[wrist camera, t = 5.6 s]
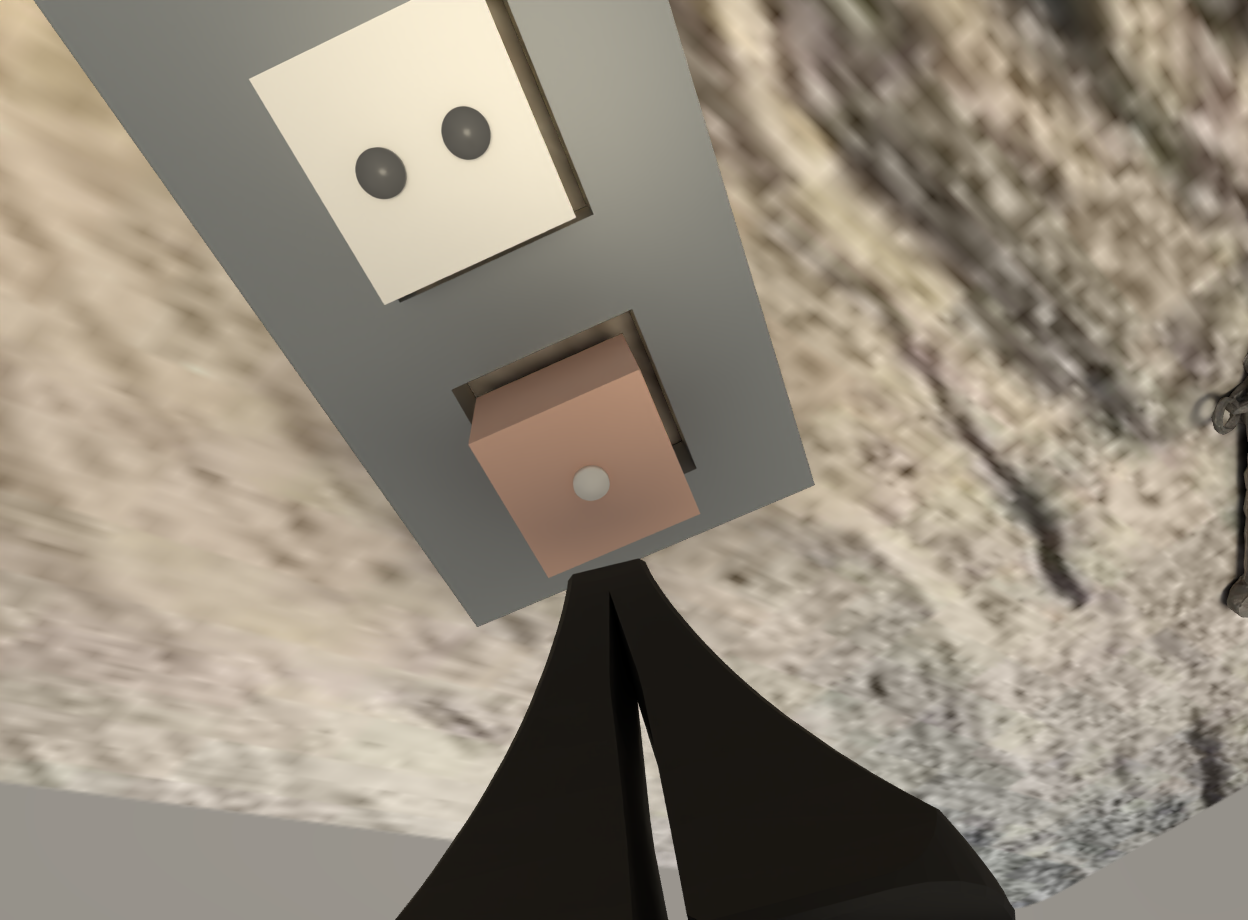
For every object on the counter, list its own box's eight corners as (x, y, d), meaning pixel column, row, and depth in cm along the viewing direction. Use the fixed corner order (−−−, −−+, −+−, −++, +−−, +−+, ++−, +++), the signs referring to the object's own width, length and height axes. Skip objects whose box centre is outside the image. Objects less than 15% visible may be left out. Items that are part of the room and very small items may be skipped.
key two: (407, 276, 16) (382, 307, 13) (300, 88, 14) (244, 78, 11) (567, 203, 16) (577, 218, 13) (481, 0, 14) (471, -33, 11)
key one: (545, 518, 20) (548, 582, 17) (476, 398, 18) (467, 448, 15) (676, 462, 20) (702, 517, 17) (622, 333, 18) (641, 372, 15)
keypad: (481, 589, 23) (477, 627, 21) (-246, -485, 11) (-393, -602, 9) (791, 457, 23) (814, 484, 21) (381, -846, 10) (352, -1045, 9)
